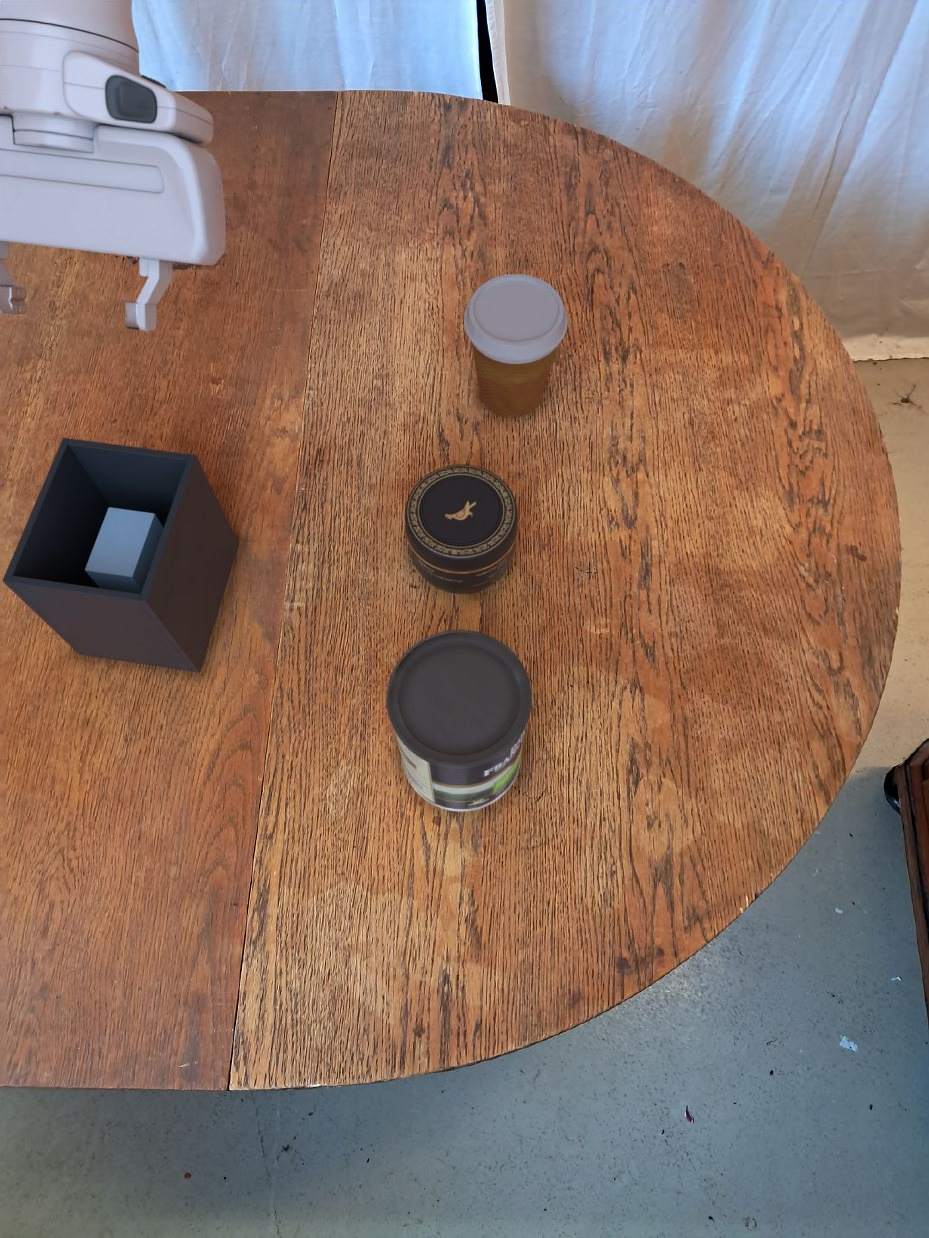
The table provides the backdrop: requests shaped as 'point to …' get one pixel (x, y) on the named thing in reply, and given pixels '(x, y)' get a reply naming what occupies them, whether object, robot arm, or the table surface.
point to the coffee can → (460, 717)
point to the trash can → (178, 576)
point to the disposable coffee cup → (514, 340)
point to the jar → (461, 528)
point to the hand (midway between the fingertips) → (75, 321)
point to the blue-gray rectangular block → (124, 550)
